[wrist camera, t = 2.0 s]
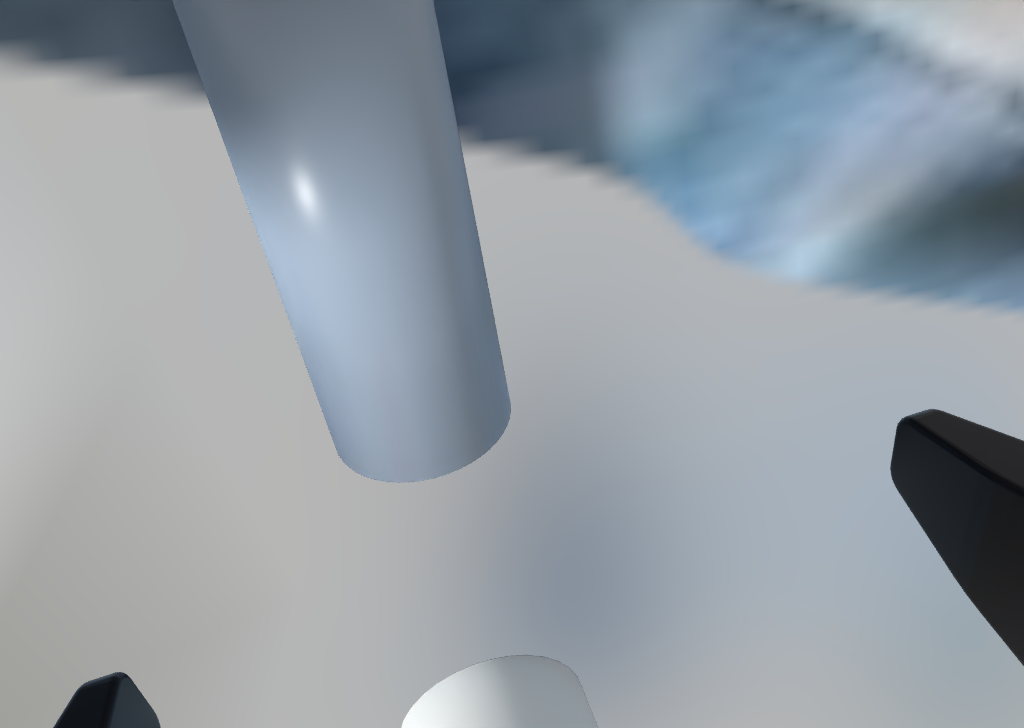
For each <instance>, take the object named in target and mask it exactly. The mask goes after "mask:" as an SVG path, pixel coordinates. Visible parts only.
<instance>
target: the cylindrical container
mask: <svg viewBox="0 0 1024 728" xmlns="http://www.w3.org/2000/svg"><path fill="white" fill-rule="evenodd" d="M402 728H598V726H597V724H596V721H595V719H594V716H593V714H592V711H591V709H590V706H589V704H588V701H587V699H586V696H585V694H584V691H583V689H582V686H581V684H580V681H579V679H578V677H577V676H576V674H575V673H574V672H573V671H572V670H571V669H570V668H569V667H567V666H565V665H564V664H562V663H561V662H559V661H556V660H553V659H550V658H546V657H542V656H531V655H520V656H519V655H518V656H506V657H501V658H495V659H490V660H487V661H484V662H481V663H477V664H474V665H471V666H469V667H467V668H465V669H462V670H460V671H458V672H455V673H454V674H452V675H450V676H449V677H447V678H445V679H444V680H442V681H440V682H438V683H437V684H436V685H435V686H433V687H432V688H431V689H429V690H428V691H427V692H426V693H424V694H423V695H422V696H421V697H420V699H419V700H418V701H417V702H416V703H415V704H414V705H413V706H412V707H411V709H410V711H409V713H408V714H407V716H406V717H405V719H404V721H403V724H402Z"/></svg>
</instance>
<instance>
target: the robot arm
mask: <svg viewBox="0 0 1024 728" xmlns="http://www.w3.org/2000/svg"><path fill="white" fill-rule="evenodd" d="M890 469H891V476H892V480H893V482H894V484H895V486H896V488H897V490H898V491H899V493H900V494H901V496H902V498H903V499H904V501H905V502H906V504H907V505H908V507H909V508H910V510H911V512H912V513H913V514H914V516H915V518H916V519H917V521H918V522H919V524H920V525H921V527H922V528H923V530H924V531H925V533H926V534H927V536H928V538H929V539H930V541H931V542H932V544H933V545H934V547H935V548H936V550H937V551H938V553H939V554H940V556H941V557H942V559H943V561H944V562H945V564H946V565H947V567H948V568H949V570H950V571H951V573H952V574H953V576H954V577H955V579H956V580H957V582H958V583H959V584H960V586H961V587H962V589H963V590H964V592H965V593H966V594H967V596H968V597H969V598H970V600H971V601H972V602H973V604H974V605H975V606H976V607H977V609H978V610H979V611H980V613H981V614H982V615H983V616H984V617H985V618H986V620H987V621H988V622H989V624H990V625H991V626H992V627H993V629H994V630H995V631H996V632H997V634H998V635H999V636H1000V637H1001V638H1002V639H1003V641H1004V642H1005V643H1006V645H1007V646H1008V647H1009V648H1010V650H1011V651H1012V652H1013V653H1014V655H1015V656H1016V657H1017V658H1018V660H1019V661H1020V662H1021V663H1022V665H1023V666H1024V441H1023V440H1020V439H1017V438H1015V437H1012V436H1009V435H1006V434H1004V433H1001V432H998V431H995V430H993V429H990V428H987V427H984V426H982V425H979V424H976V423H974V422H971V421H968V420H965V419H963V418H960V417H957V416H954V415H952V414H949V413H946V412H944V411H940V410H936V409H929V410H925V411H922V412H919V413H915V414H912V415H909V416H906V417H904V418H902V419H901V421H900V422H899V423H898V425H897V429H896V435H895V441H894V448H893V454H892V460H891V468H890ZM53 728H160V723H159V720H158V718H157V715H156V713H155V712H154V710H153V709H152V707H151V706H150V705H149V703H148V702H147V700H146V699H145V698H144V696H143V695H142V693H141V692H140V691H139V690H138V688H137V686H136V685H135V684H134V682H133V681H132V680H131V678H130V677H129V676H128V675H127V674H125V673H122V672H117V673H113V674H110V675H107V676H104V677H100V678H98V679H95V680H91V681H88V682H86V683H84V684H83V685H82V686H81V687H80V688H79V689H78V690H77V691H76V692H75V694H74V695H73V697H72V699H71V700H70V702H69V703H68V705H67V707H66V708H65V710H64V711H63V713H62V715H61V716H60V718H59V719H58V721H57V723H56V724H55V726H54V727H53Z"/></svg>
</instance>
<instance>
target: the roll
mask: <svg viewBox="0 0 1024 728" xmlns="http://www.w3.org/2000/svg"><path fill="white" fill-rule="evenodd" d="M172 1H173V4H174V7H175V10H176V12H177V15H178V18H179V21H180V23H181V26H182V29H183V32H184V34H185V37H186V40H187V42H188V45H189V48H190V51H191V53H192V56H193V59H194V62H195V64H196V67H197V70H198V73H199V75H200V78H201V81H202V84H203V86H204V89H205V92H206V94H207V97H208V100H209V103H210V105H211V108H212V111H213V113H214V116H215V119H216V122H217V125H218V127H219V130H220V132H221V135H222V138H223V141H224V144H225V146H226V149H227V152H228V155H229V157H230V160H231V162H232V166H233V168H234V171H235V174H236V176H237V179H238V182H239V185H240V187H241V190H242V193H243V196H244V198H245V201H246V204H247V207H248V209H249V212H250V214H251V217H252V220H253V223H254V226H255V228H256V231H257V234H258V237H259V239H260V242H261V245H262V247H263V250H264V253H265V256H266V258H267V261H268V264H269V267H270V269H271V272H272V275H273V278H274V280H275V283H276V286H277V288H278V291H279V294H280V297H281V300H282V302H283V305H284V308H285V310H286V313H287V316H288V319H289V321H290V324H291V327H292V330H293V332H294V335H295V338H296V341H297V343H298V346H299V348H300V351H301V354H302V357H303V360H304V362H305V365H306V368H307V370H308V373H309V376H310V379H311V381H312V384H313V387H314V390H315V392H316V395H317V398H318V401H319V403H320V406H321V409H322V412H323V414H324V417H325V420H326V422H327V425H328V428H329V431H330V434H331V436H332V439H333V442H334V444H335V447H336V450H337V452H338V455H339V456H340V458H341V459H342V461H343V462H344V463H345V464H346V465H347V466H348V467H349V468H351V469H352V470H353V471H355V472H356V473H358V474H361V475H363V476H365V477H368V478H371V479H374V480H379V481H385V482H398V483H401V482H415V481H423V480H428V479H433V478H437V477H440V476H443V475H446V474H449V473H451V472H454V471H456V470H459V469H461V468H463V467H464V466H466V465H468V464H470V463H472V462H473V461H475V460H476V459H478V458H479V457H481V456H482V455H483V454H485V453H486V452H487V451H488V450H489V449H490V448H491V447H492V446H493V445H494V444H495V443H496V442H497V441H498V440H499V438H500V437H501V436H502V434H503V433H504V430H505V429H506V427H507V425H508V422H509V419H510V413H511V404H510V398H509V393H508V388H507V383H506V377H505V372H504V367H503V362H502V356H501V351H500V347H499V341H498V336H497V330H496V325H495V320H494V315H493V309H492V304H491V299H490V294H489V289H488V283H487V279H486V273H485V268H484V263H483V257H482V253H481V247H480V242H479V237H478V231H477V226H476V221H475V216H474V211H473V205H472V200H471V195H470V190H469V185H468V180H467V175H466V169H465V164H464V158H463V153H462V148H461V143H460V138H459V132H458V127H457V122H456V117H455V112H454V106H453V101H452V96H451V91H450V86H449V80H448V75H447V70H446V65H445V60H444V54H443V49H442V44H441V39H440V34H439V28H438V23H437V18H436V13H435V7H434V2H433V0H172Z"/></svg>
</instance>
